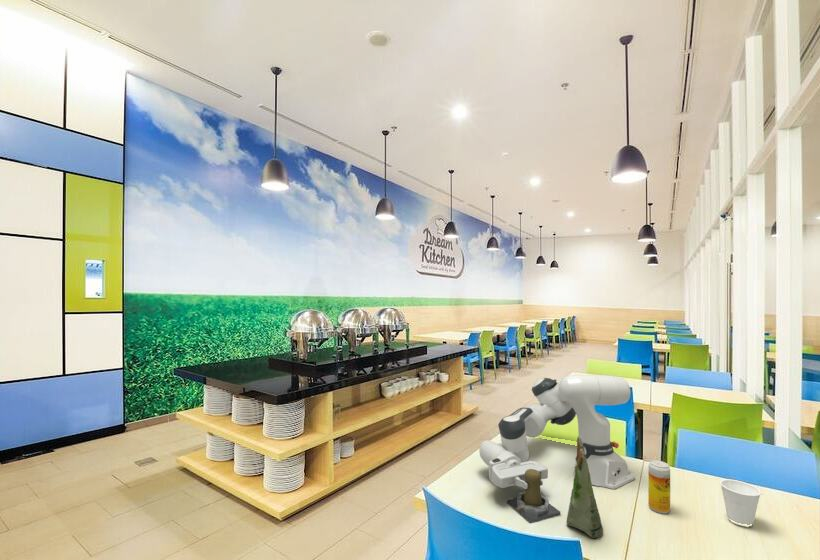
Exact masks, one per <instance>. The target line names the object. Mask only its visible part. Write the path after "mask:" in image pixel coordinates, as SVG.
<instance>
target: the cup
mask: <svg viewBox="0 0 820 560" xmlns="http://www.w3.org/2000/svg"><path fill="white" fill-rule="evenodd" d="M719 485H720V487H721V491H722V496H723V500H724V506H725V511H726V517H728V518H729V519H731V520H733V521H735V522H737V523H741V524H747V525H750V524H753V525H754V523H755V517H756V515H757V514H756V513H757V509H758V504H759V502H760V501H759V500H760V497H761V495H762V492H761V490H760V489H759V488H758V487H756V486H755V485H752V484H750V483H747V482H744V481H741V480H736V479H730V478H727V479H721V480H720V481H719ZM728 518H727V519H728ZM729 519H728V520H729Z"/></svg>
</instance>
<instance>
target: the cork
mask: <svg viewBox="0 0 820 560" xmlns="http://www.w3.org/2000/svg"><path fill="white" fill-rule="evenodd" d="M525 479H526V481H527V482H528V483H530V488H528V489H525V488H524V492H525V494H524V501H523V502H524V503H525V504H527V505H531V506H535V507H538V506H542V499H541V495H542V493H541V486H540V483H539V482H540V481H541V474H540V472H539V471H537V470H535V469H528V470H526V472H525Z"/></svg>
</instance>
